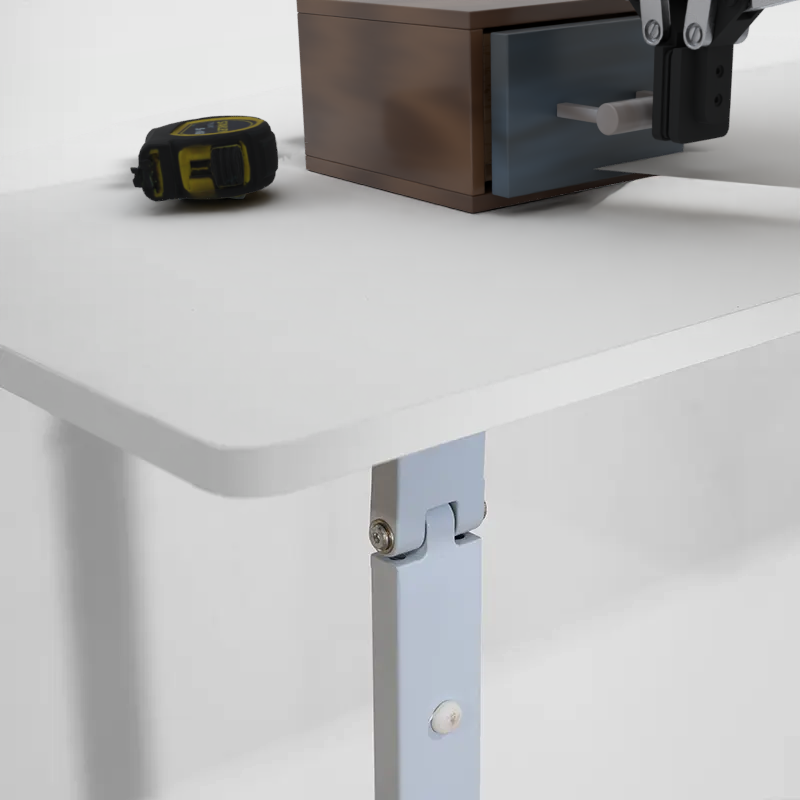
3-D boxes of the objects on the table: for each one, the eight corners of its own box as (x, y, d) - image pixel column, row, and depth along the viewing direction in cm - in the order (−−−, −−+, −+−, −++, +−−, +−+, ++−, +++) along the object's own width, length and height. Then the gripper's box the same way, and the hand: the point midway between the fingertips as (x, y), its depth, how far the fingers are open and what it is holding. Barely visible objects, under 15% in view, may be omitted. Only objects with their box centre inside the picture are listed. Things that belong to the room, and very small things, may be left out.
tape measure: (151, 188, 73) (143, 116, 72) (282, 181, 73) (277, 109, 72) (135, 218, 66) (127, 139, 65) (279, 210, 67) (273, 132, 65)
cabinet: (664, 174, 72) (670, -10, 68) (472, 213, 65) (469, 11, 62) (485, 139, 83) (483, -20, 80) (305, 169, 76) (295, -4, 73)
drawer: (749, 175, 66) (757, 17, 64) (570, 213, 60) (572, 40, 58) (509, 131, 80) (508, -1, 77) (344, 159, 74) (337, 16, 71)
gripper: (513, -312, 58) (513, 128, 65) (803, -367, 47) (768, 174, 53) (640, -304, 62) (629, 110, 69) (936, -353, 51) (889, 149, 57)
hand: (690, 137), depth 61 cm, fingers closed
